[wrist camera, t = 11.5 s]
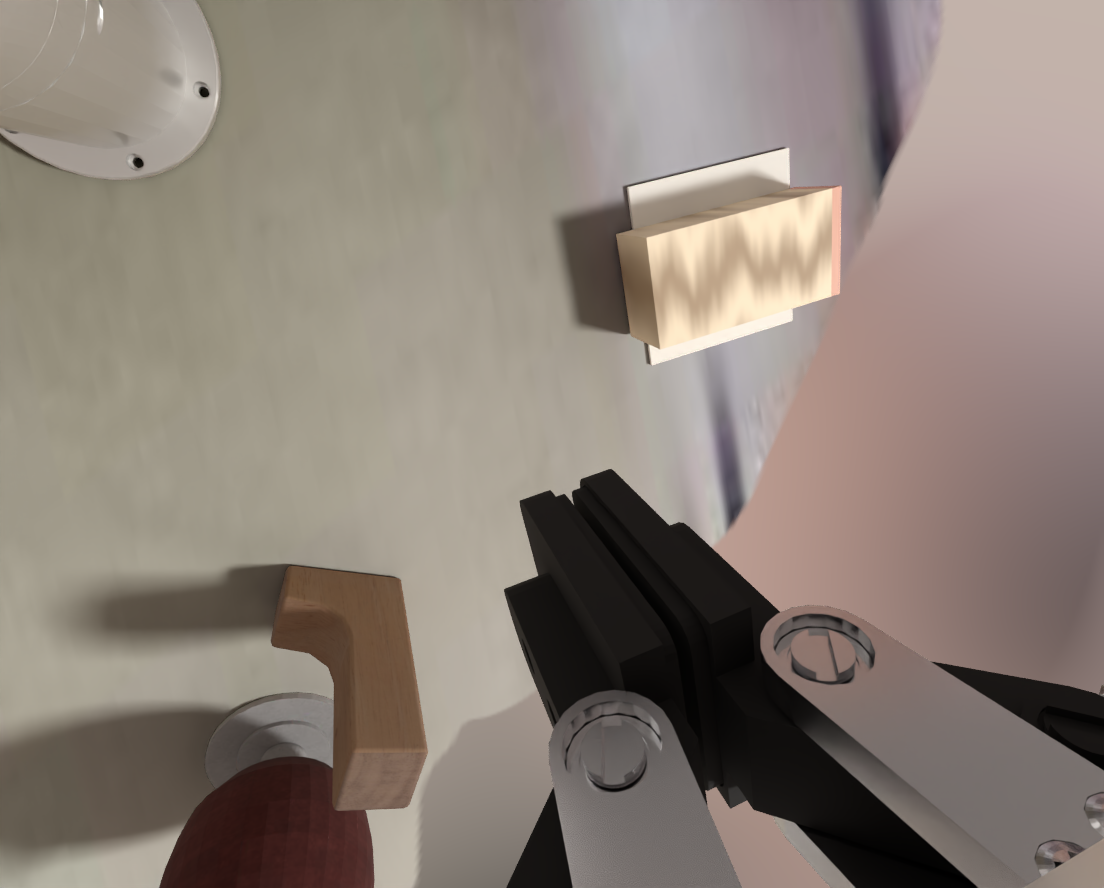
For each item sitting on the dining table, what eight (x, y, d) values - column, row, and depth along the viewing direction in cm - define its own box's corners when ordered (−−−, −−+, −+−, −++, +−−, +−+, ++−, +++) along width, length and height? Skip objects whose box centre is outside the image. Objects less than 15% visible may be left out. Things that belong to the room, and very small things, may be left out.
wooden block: (275, 611, 47) (242, 818, 31) (287, 562, 46) (259, 753, 30) (388, 620, 51) (409, 811, 35) (402, 576, 49) (430, 752, 34)
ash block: (646, 237, 40) (841, 185, 43) (616, 234, 44) (795, 187, 47) (660, 349, 43) (839, 293, 47) (630, 335, 48) (796, 285, 51)
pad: (626, 187, 43) (628, 187, 43) (786, 148, 46) (789, 147, 46) (650, 364, 50) (651, 365, 49) (790, 320, 52) (792, 320, 52)
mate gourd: (208, 683, 47) (129, 966, 30) (382, 686, 53) (402, 926, 35) (181, 825, 52) (100, 1147, 34) (346, 814, 57) (348, 1086, 40)
